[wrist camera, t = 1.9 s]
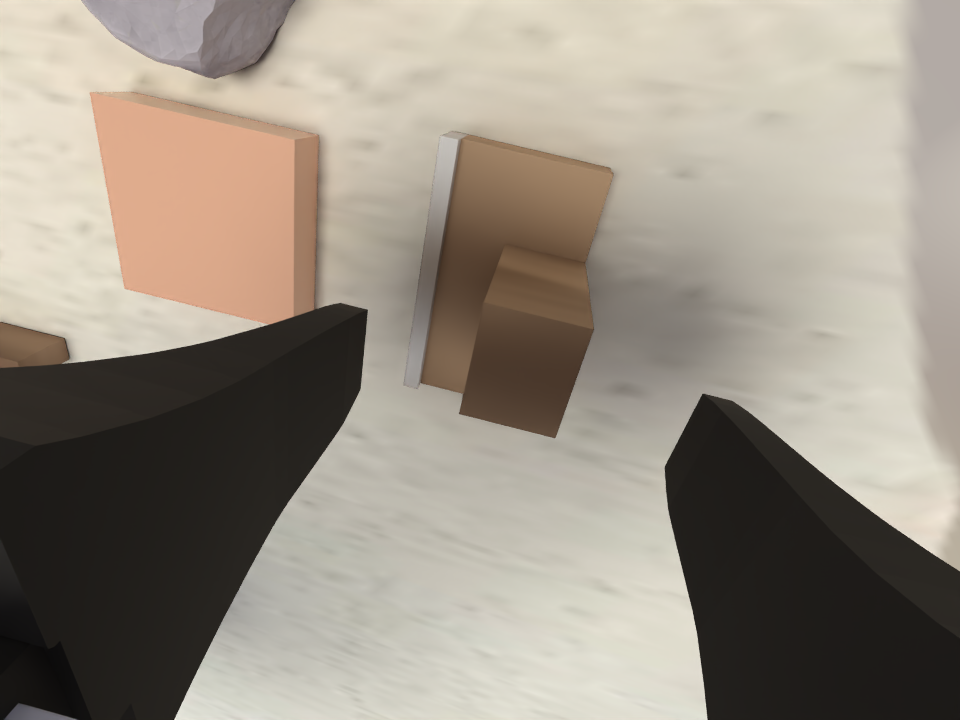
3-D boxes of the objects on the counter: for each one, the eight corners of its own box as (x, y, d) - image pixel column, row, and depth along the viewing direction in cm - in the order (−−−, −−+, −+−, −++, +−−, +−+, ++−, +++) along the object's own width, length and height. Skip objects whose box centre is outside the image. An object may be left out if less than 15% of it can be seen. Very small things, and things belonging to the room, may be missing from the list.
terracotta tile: (318, 307, 18) (293, 330, 17) (165, 270, 19) (124, 288, 17) (324, 134, 15) (294, 139, 14) (142, 91, 16) (89, 92, 14)
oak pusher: (539, 390, 18) (529, 510, 13) (416, 360, 19) (360, 466, 13) (609, 167, 14) (635, 211, 9) (453, 130, 15) (392, 153, 9)
